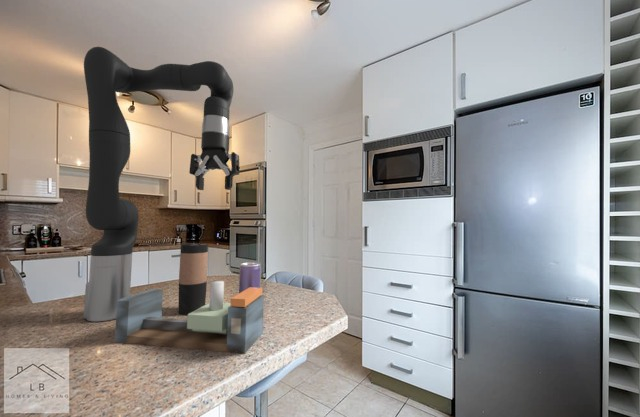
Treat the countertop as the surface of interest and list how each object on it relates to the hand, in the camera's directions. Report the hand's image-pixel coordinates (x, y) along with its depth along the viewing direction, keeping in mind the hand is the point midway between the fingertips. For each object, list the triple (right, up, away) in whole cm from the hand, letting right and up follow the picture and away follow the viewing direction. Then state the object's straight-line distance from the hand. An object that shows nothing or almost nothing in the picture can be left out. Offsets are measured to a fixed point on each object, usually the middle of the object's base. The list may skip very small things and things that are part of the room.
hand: (213, 189), depth 74 cm
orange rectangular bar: (+14, -26, -16) cm, 34 cm away
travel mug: (-8, -36, +3) cm, 37 cm away
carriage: (+7, -33, -15) cm, 37 cm away
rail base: (+1, -35, -14) cm, 38 cm away
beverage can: (+11, -36, -2) cm, 38 cm away
